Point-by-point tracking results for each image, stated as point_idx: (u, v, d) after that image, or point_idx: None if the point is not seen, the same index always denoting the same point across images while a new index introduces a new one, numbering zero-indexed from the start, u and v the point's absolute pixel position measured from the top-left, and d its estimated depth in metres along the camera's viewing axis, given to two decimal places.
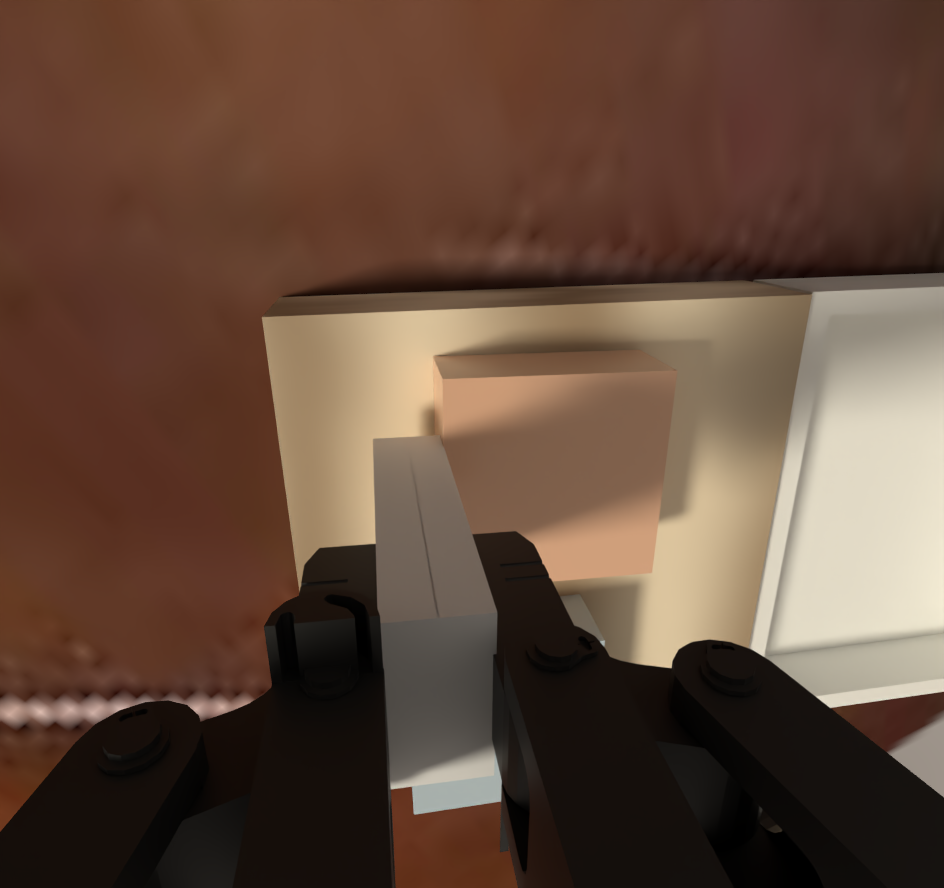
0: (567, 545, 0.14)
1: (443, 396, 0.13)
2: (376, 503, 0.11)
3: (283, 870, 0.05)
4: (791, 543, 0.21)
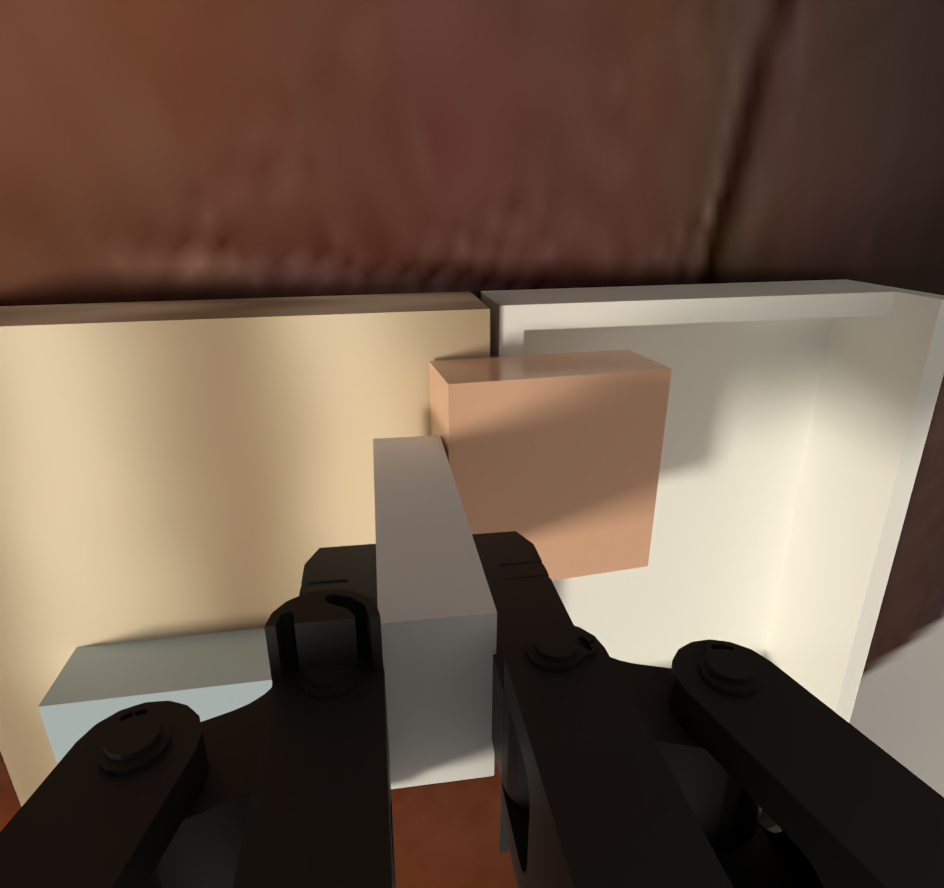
0: (568, 543, 0.15)
1: (449, 401, 0.13)
2: (376, 503, 0.11)
3: (284, 870, 0.05)
4: None
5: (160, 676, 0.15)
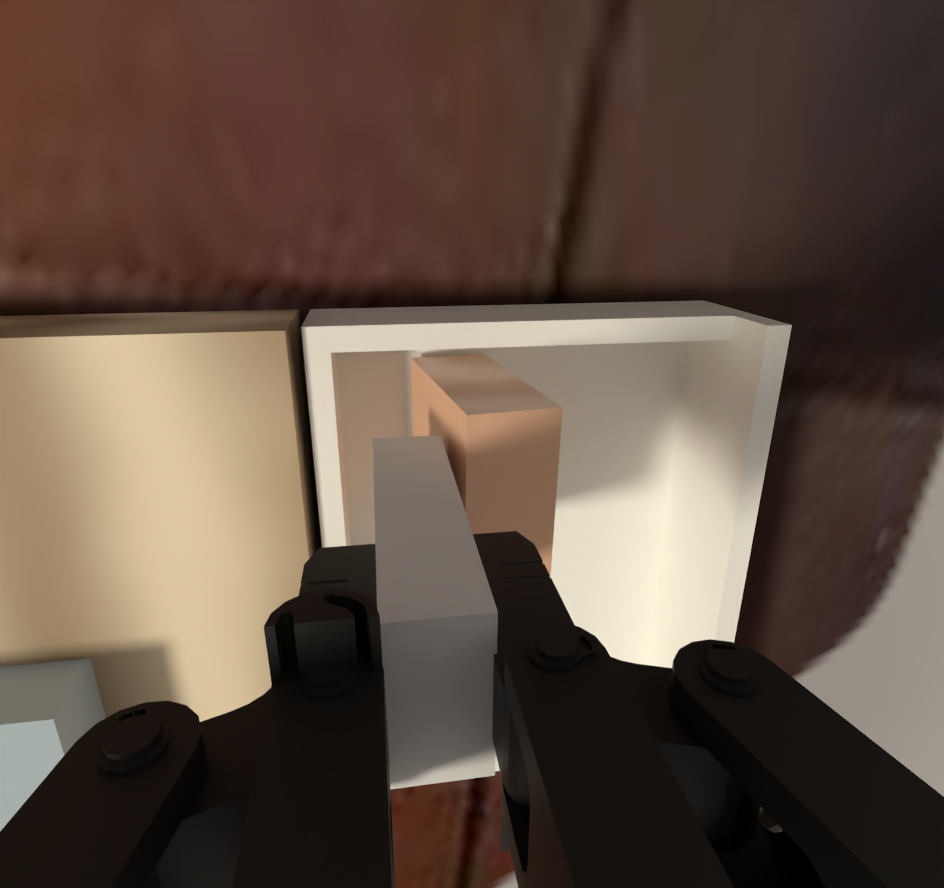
0: None
1: (560, 424, 0.13)
2: (376, 503, 0.11)
3: (283, 870, 0.05)
4: None
5: None
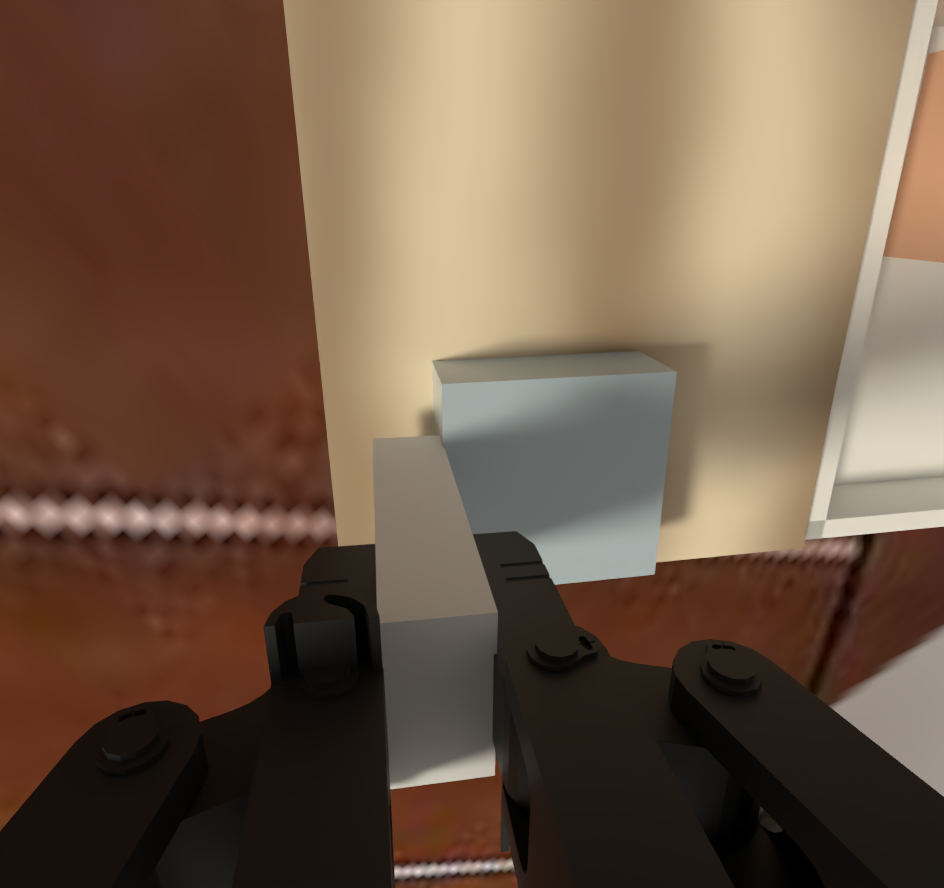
0: None
1: None
2: (376, 503, 0.11)
3: (283, 870, 0.05)
4: (865, 342, 0.19)
5: (550, 371, 0.13)
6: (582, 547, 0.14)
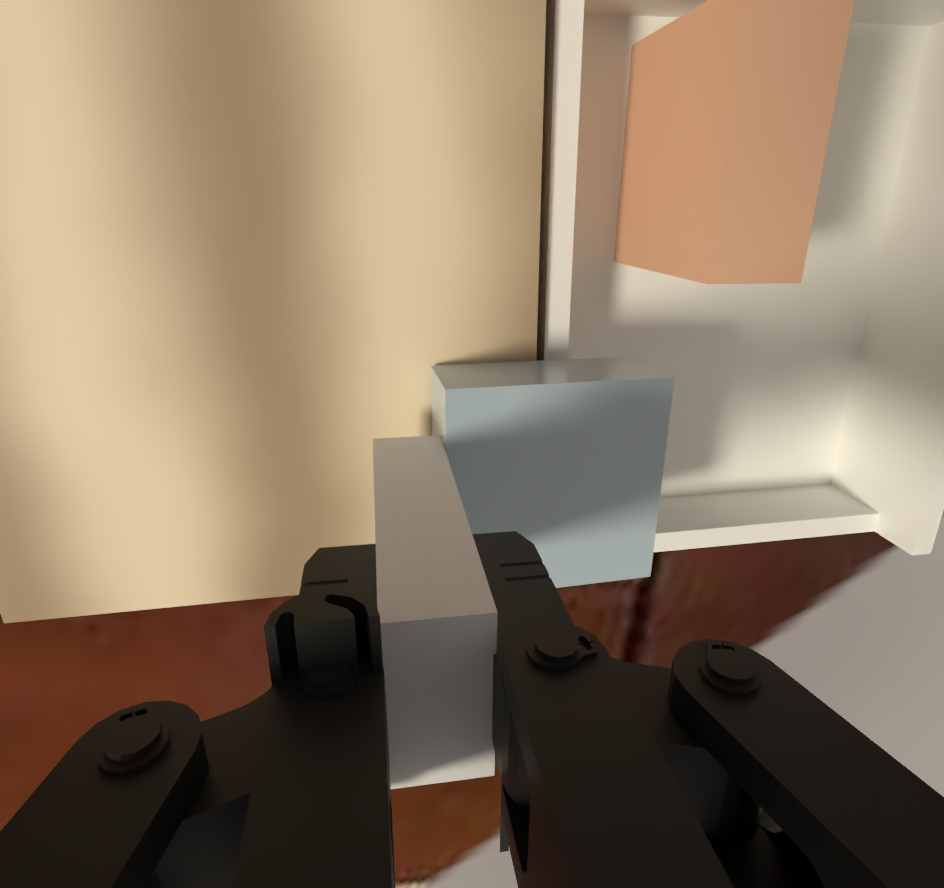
0: None
1: (851, 8, 0.11)
2: (376, 503, 0.11)
3: (284, 870, 0.05)
4: (609, 353, 0.18)
5: (551, 376, 0.13)
6: (581, 550, 0.15)
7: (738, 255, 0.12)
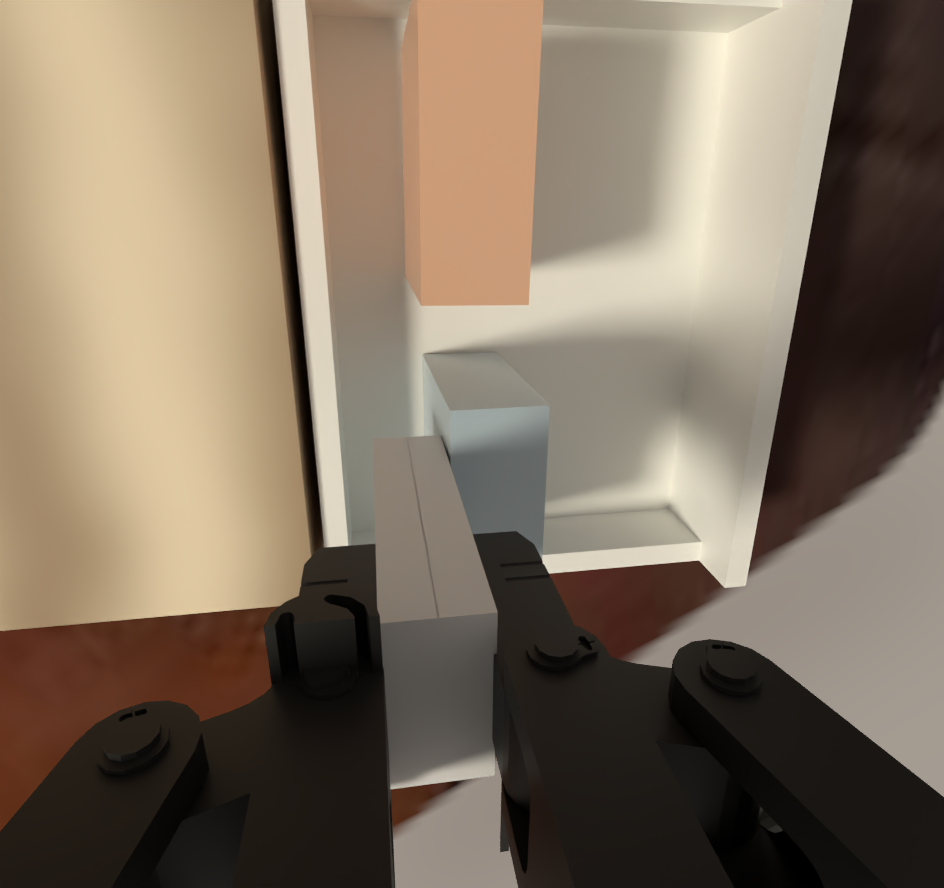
0: None
1: (541, 12, 0.10)
2: (376, 503, 0.11)
3: (283, 870, 0.05)
4: (411, 372, 0.17)
5: (496, 376, 0.15)
6: None
7: (452, 275, 0.11)
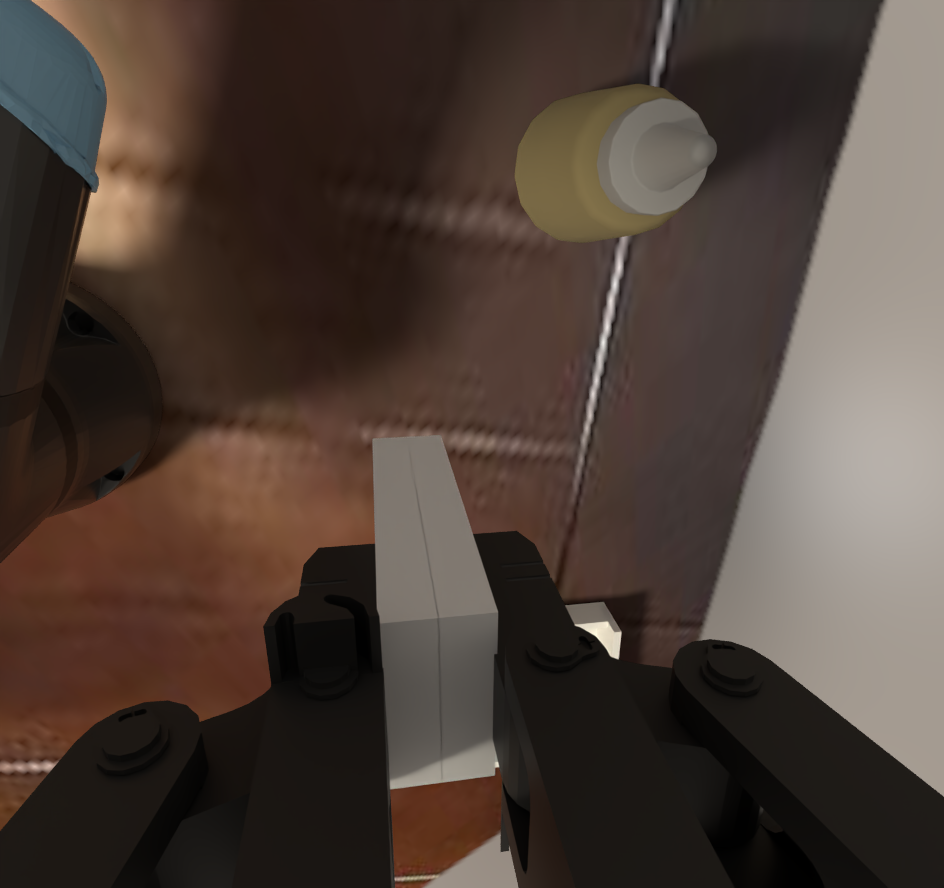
0: None
1: None
2: (376, 503, 0.11)
3: (283, 870, 0.05)
4: None
5: None
6: None
7: None
